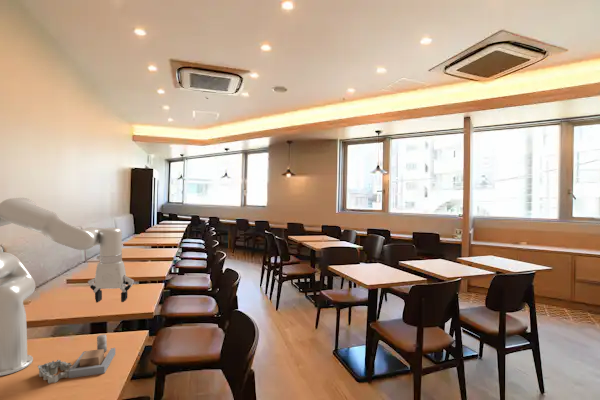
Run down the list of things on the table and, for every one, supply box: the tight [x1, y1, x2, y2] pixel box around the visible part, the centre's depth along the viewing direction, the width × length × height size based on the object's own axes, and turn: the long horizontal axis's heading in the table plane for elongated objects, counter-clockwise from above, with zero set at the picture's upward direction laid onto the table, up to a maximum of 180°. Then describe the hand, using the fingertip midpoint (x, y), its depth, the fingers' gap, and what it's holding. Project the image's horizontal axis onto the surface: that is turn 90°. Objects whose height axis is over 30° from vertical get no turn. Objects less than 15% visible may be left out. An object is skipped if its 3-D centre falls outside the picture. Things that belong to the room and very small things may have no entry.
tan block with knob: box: [80, 334, 108, 367], centre depth 121 cm, size 6×16×6 cm, turn 16°
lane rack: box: [68, 347, 116, 379], centre depth 118 cm, size 11×14×2 cm
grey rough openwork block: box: [37, 359, 73, 384], centre depth 111 cm, size 11×8×4 cm
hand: (111, 301), depth 126 cm, fingers open, 9 cm apart
